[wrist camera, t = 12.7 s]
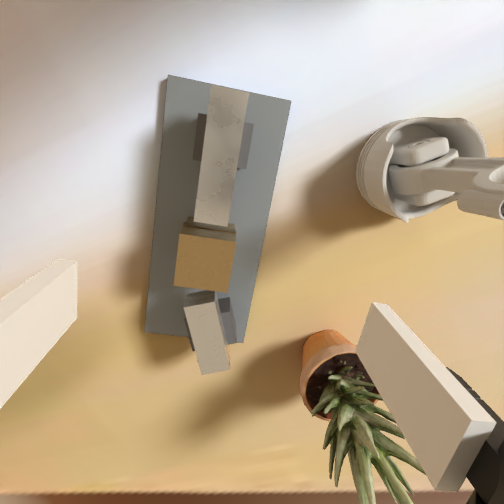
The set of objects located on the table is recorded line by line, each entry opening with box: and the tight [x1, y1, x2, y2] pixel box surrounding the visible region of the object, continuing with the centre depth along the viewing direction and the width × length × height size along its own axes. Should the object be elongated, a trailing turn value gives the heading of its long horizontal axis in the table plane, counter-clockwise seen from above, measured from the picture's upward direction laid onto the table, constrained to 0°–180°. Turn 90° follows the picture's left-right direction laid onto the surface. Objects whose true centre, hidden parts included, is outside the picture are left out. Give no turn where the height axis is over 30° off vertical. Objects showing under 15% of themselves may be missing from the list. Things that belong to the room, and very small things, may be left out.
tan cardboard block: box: [173, 216, 237, 293], centre depth 32 cm, size 5×5×7 cm
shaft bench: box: [145, 75, 291, 351], centre depth 34 cm, size 28×12×4 cm, turn 170°
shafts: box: [184, 84, 249, 375], centre depth 31 cm, size 27×6×3 cm, turn 170°
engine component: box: [356, 117, 504, 223], centre depth 26 cm, size 11×20×10 cm
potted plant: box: [299, 330, 426, 504], centre depth 31 cm, size 10×10×25 cm
